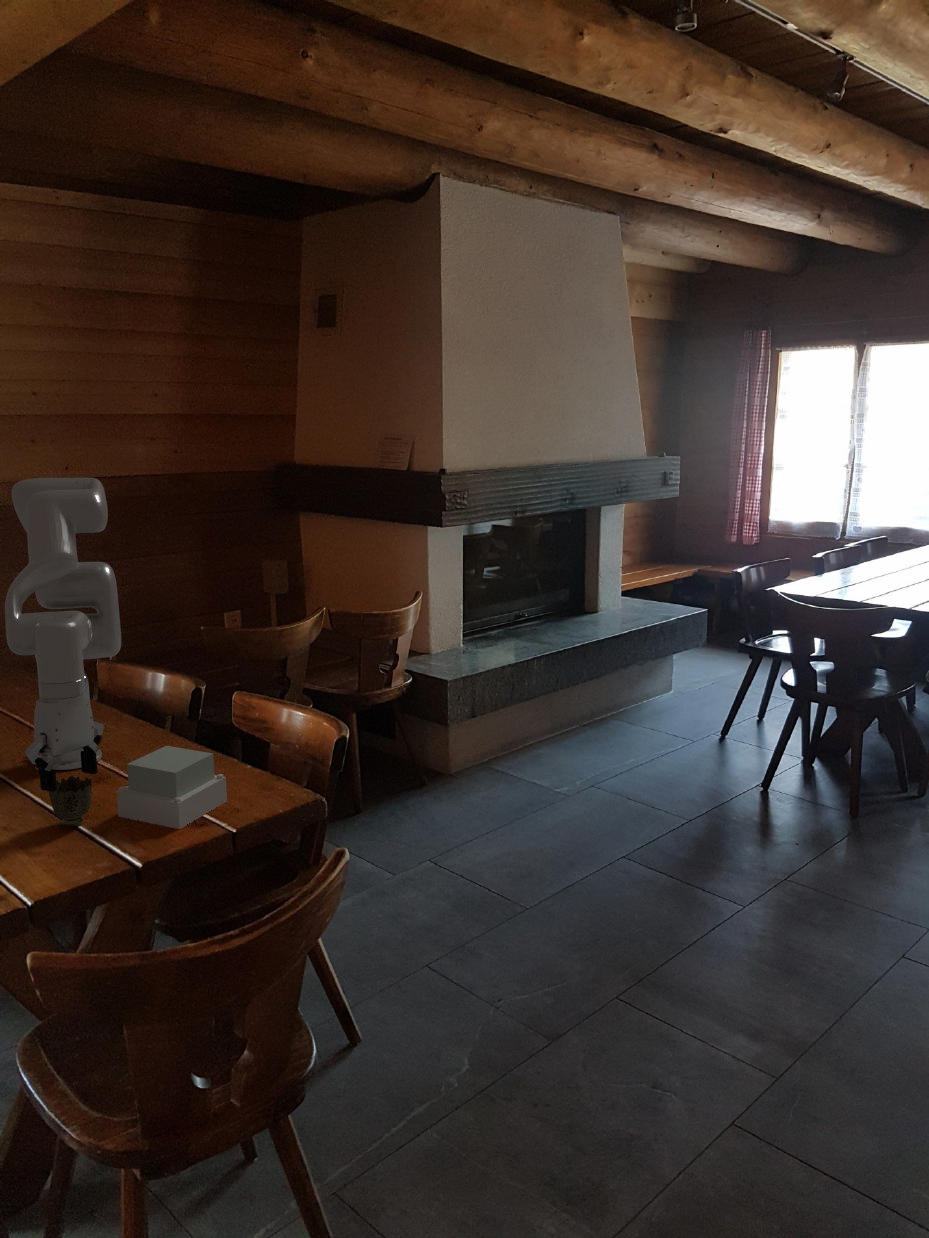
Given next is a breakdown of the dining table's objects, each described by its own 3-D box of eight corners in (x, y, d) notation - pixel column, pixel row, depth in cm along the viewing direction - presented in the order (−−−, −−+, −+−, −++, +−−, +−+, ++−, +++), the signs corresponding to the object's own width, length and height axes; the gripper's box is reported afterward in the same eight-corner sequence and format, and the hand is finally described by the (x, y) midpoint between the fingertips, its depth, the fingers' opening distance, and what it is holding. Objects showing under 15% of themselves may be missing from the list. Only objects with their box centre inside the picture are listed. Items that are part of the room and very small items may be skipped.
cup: (103, 819, 180) (100, 778, 178) (76, 835, 173) (72, 793, 171) (70, 813, 182) (67, 773, 181) (42, 829, 175) (38, 787, 174)
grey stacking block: (118, 816, 181) (114, 765, 179) (168, 790, 194) (165, 742, 192) (179, 829, 176) (176, 776, 174) (226, 801, 189) (224, 752, 186)
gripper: (82, 676, 181) (89, 764, 184) (6, 698, 166) (15, 794, 169) (114, 679, 179) (120, 769, 182) (40, 703, 163) (48, 800, 166)
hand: (69, 781), depth 175 cm, fingers open, 9 cm apart
